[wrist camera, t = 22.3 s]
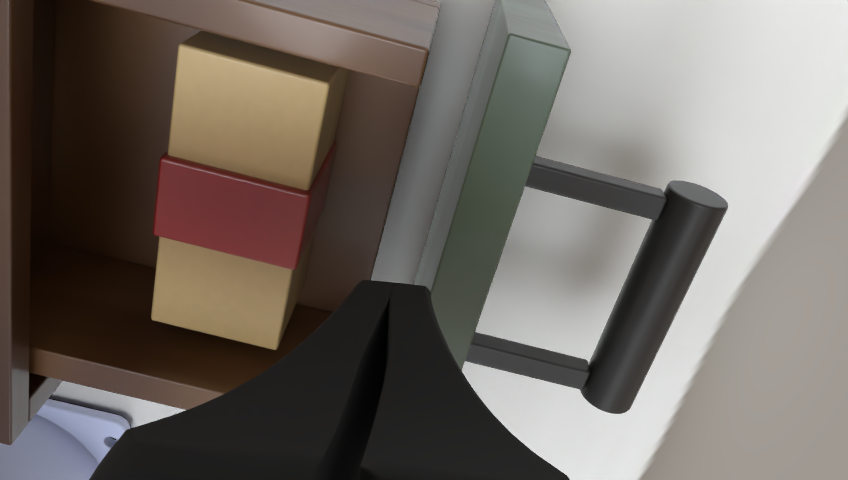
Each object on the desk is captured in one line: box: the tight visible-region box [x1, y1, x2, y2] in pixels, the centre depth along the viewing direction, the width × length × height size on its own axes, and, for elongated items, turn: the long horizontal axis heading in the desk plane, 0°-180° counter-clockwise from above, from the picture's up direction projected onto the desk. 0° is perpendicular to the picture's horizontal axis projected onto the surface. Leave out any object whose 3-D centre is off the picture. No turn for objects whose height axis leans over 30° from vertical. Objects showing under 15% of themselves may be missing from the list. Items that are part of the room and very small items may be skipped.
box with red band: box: [151, 31, 349, 350], centre depth 18 cm, size 7×3×4 cm, turn 166°
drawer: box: [29, 0, 728, 414], centre depth 19 cm, size 17×11×6 cm, turn 76°
